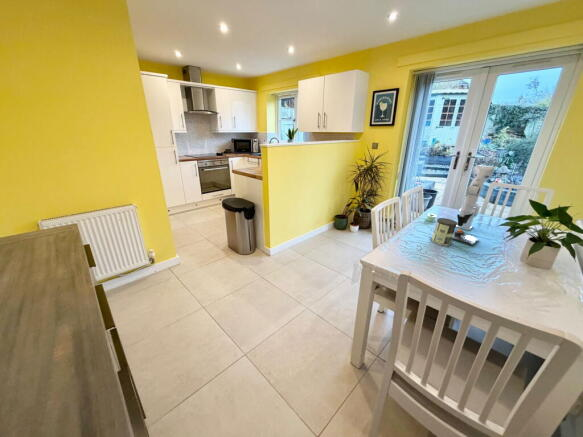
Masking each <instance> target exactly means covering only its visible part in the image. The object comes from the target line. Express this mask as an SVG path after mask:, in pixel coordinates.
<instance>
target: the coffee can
mask: <svg viewBox="0 0 583 437" xmlns="http://www.w3.org/2000/svg"><path fill="white" fill-rule="evenodd" d="M456 225H458V221H455V220H453V219H450V218H445V217H439V218H437V219H436V224H435V226H434V230H433V233H432V237H431V241H432V242H433V243H434V244H437V245H440V246H450V245H451V244H452V241H453V240H452V237H453V235H454V234H455V231H456V228H457V227H456Z"/></svg>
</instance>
